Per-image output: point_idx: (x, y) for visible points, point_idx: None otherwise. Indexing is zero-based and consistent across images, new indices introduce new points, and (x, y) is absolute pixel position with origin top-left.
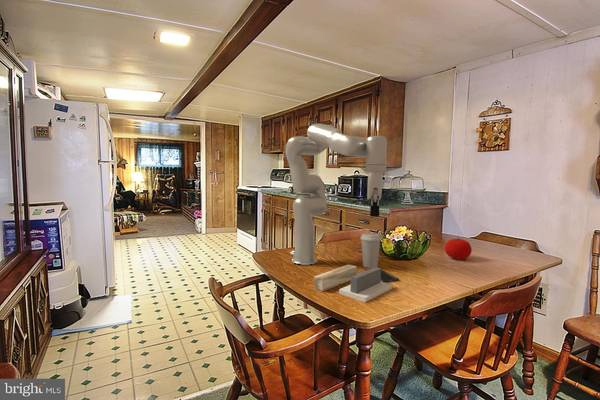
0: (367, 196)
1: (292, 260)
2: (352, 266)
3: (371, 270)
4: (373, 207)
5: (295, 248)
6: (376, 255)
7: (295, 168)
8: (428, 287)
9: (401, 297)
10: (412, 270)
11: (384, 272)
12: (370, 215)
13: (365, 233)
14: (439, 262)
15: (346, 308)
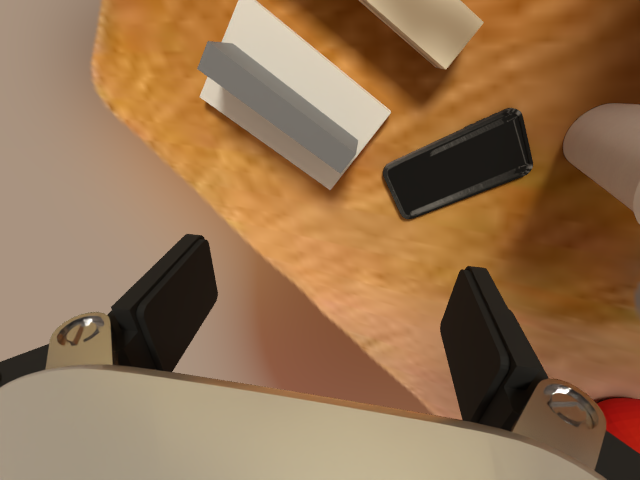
0: (18, 426)
1: None
2: (445, 46)
3: (307, 134)
4: (112, 318)
5: None
6: (594, 178)
7: None
8: (356, 274)
9: (272, 199)
10: (510, 273)
11: (481, 185)
12: (184, 238)
13: None
14: (585, 358)
15: (142, 33)
